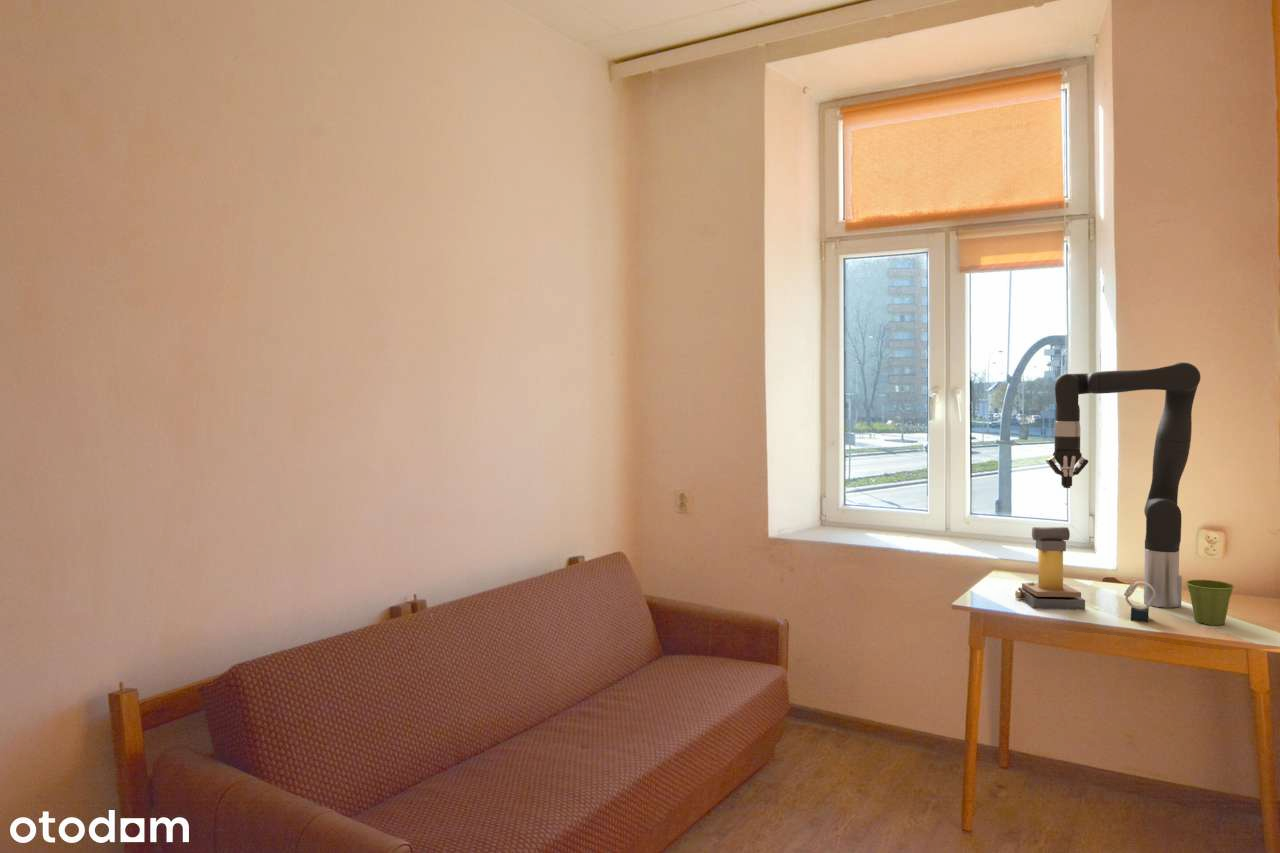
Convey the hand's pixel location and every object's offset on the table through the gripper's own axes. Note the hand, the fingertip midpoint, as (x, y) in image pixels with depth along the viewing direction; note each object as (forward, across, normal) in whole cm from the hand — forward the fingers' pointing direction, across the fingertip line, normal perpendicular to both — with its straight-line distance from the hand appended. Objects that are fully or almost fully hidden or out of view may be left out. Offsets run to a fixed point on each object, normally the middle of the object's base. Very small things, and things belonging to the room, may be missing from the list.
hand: (1066, 487), depth 279 cm
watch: (+35, +10, -30) cm, 47 cm away
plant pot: (+35, +28, -32) cm, 55 cm away
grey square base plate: (+35, -9, -13) cm, 38 cm away
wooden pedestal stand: (+32, -9, -13) cm, 35 cm away
